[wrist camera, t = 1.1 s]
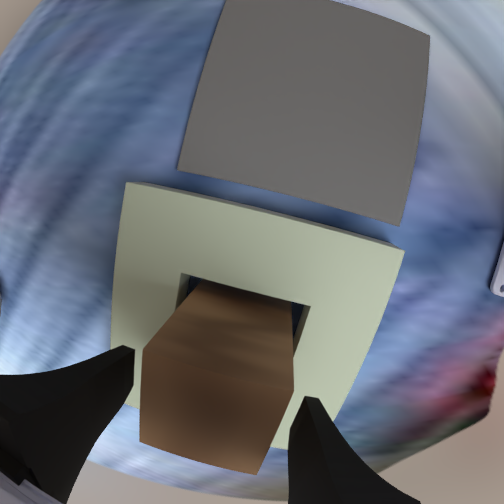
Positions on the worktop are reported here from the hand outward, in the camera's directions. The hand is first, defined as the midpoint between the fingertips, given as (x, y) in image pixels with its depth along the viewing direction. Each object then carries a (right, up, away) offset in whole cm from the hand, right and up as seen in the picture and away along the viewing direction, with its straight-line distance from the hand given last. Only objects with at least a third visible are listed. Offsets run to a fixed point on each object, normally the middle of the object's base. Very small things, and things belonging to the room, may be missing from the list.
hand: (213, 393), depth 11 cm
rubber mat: (+5, +14, +3) cm, 15 cm away
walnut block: (+1, +1, +6) cm, 6 cm away
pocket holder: (+1, +1, +6) cm, 6 cm away
